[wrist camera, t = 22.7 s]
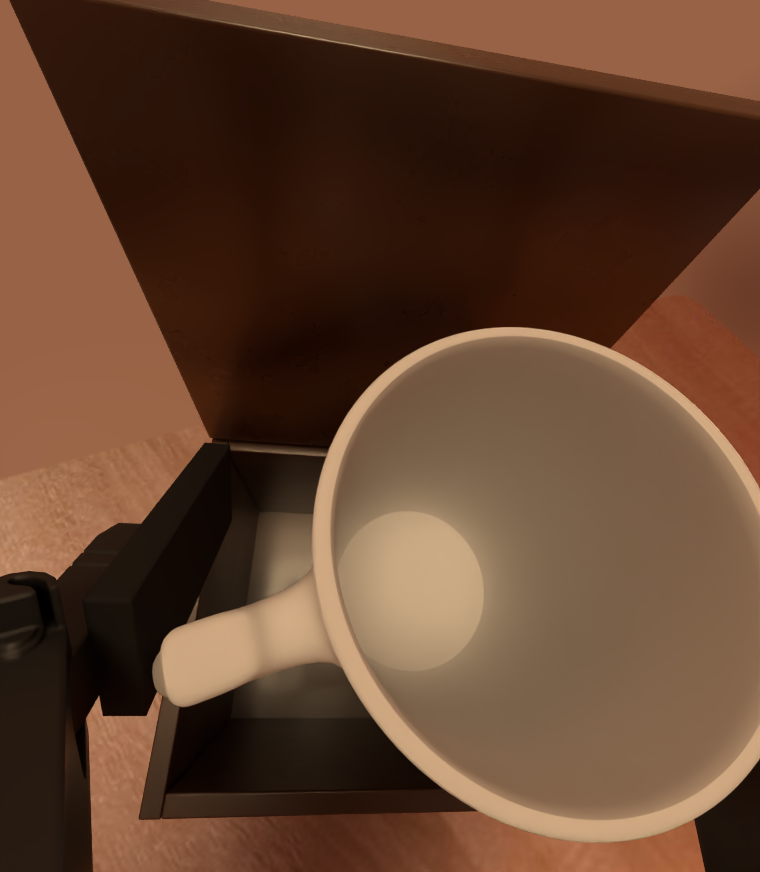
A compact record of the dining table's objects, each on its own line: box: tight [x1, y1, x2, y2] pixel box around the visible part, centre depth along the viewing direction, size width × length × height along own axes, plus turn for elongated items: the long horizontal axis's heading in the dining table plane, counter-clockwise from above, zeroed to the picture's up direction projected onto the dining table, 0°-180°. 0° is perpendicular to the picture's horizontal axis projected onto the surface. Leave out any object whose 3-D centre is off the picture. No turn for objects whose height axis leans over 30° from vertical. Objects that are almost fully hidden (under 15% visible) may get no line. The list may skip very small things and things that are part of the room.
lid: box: [10, 0, 760, 446], centre depth 15 cm, size 16×16×1 cm
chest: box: [139, 438, 478, 820], centre depth 26 cm, size 16×16×14 cm
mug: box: [152, 327, 760, 843], centre depth 11 cm, size 10×7×12 cm, turn 109°
